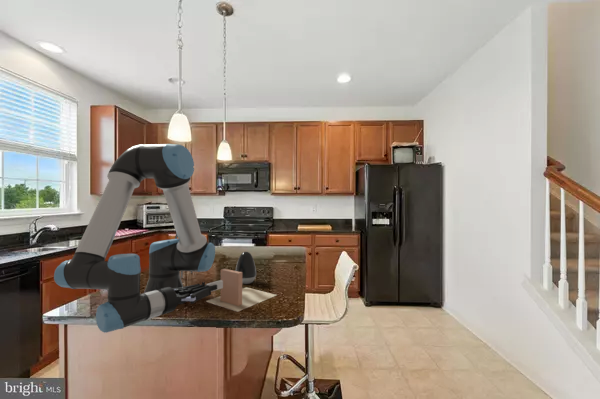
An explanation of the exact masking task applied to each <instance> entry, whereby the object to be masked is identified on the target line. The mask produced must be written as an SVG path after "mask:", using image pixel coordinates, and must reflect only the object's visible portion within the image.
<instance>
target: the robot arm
mask: <svg viewBox="0 0 600 399" xmlns="http://www.w3.org/2000/svg"><path fill="white" fill-rule="evenodd" d="M194 166H195V161H194V158H193V155H192V154H191V152H190V150H189V149H188V148H186V147H185V146H184V145H182V144H179V143H178V144H176V143H175V144H173V143H160V144H159V143H158V144H157V143H155V144H152V143H151V144H144V143H143V144H142V143H141V144H137V145H133V146H131V147H130V148H127V149H126V150H125V151H124V152H123V153H122V154H120V155H119V156H118V157H117V159H116V160H115V161H114V163H113V164H112V165H111V168H110V169H109V171H108V173H107V179H108V182H107V183H106V186H105V188H104V190H103V192H102V194H101V197H100V199H99V201H98V203H97V205H96V208H95V209H94V212H93V214H92V216H91V218H90V219H89V220H90V221H89V223H88V224H87V226H86V228H85V231H84V233H83V235H82V237H81V239H80V241H79V244H78V245H77V248H76V249H75V252H74V253H73V256H72V258H71V259H69V260H65V261H62V262H61V263H60V264H59V265H57V267H56V268H55V269H54V275H53V280H54V283H55V284H56V285H58V286H59V287H61V288H67V289H73V290H78V289H83V290H85V289H86V290H87V289H88V290H89V289H90V290H101V291H102V290H103V291H104V290H105V291H107V301H105V302H103V303H101V304H99V305H98V306H97V308H96V312H95V321H96V325H97V328H98V330H99V331H101V332H102V333H104V334H105V333H110V332H113V331H117V330H121V329H124V328H126V327H127V328H128V327H130V326H133V325H136V324H139V323H142V322H144V321H151V320H152V319H154V318H157V317H159V316H162V315H166V314H168V313H169V314H170V313H172V312H174V311H175V310H176V308H177V306H178V305H184V304H185V303H187V302H189V303H190V305H191V304H195V303H196V302H198V301H200V300H202V299H205V298H206V297H208V296H209V297H210V295H212V292H215V291H218V290H220V289H222V288H223V281H222V280H221V279H220V280H216V281H211V282H209V283H206V282H205V281H204V282H203V281H202V282H201V283H195V284H190V285H186V286H185V285H184V284H183V281H182V279H181V271H183V272H191V271H192V273H193V272H196V273H202V272H208V271H209V270H210V269H211V268H212V266H213V264H214V261H215V257H216V246H215V244H214V243H213V242H208V239H207V236H206V235H204V234H203V233H202V232H201V228H200V224H199V221H198V217H197V214H196V209H195V205H194V202H193V198H192V195H191V191H190V188H189V183H190V182H191V180H192V179H191V178H192V176H193V175H194V172H195V167H194ZM145 179H153V180H154V183H155V185H156V188H157V189H160V190H162V191H163V195H164V198H165V202H166V204H167V208H168V211H169V214H170V218H171V220H172V223H173V227H174V229H175V232H176V233H177V236H178V237H177V239H175V238H172V239H165V240H158V241H154V242H152V243H151V244H150V245H149V252H148V254H149V255H148V256H149V258H148V263H149V265H148V280H147V283H146V286H145V289H144V292H143V293H141V272H142V267H141V258H140V255H138V254H137V253H118V254H113V255H111V256H109V257H108V259H107V256H108V254H109V252H110V248H111V246H112V244H113V241H114V238H115V236H116V234H117V231H118V229H119V227H120V224H121V222H122V220H123V217H124V215H125V212H126V209H127V207H128V205H129V202H130V200H131V198H132V195H133V193H134V191H135V189H137V188H139V187H140V185H141V183H142V181H144V180H145ZM176 233H175V234H176ZM106 259H107V261H106Z"/></svg>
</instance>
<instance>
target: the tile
mask: <svg viewBox="0 0 600 399" xmlns="http://www.w3.org/2000/svg"><path fill="white" fill-rule="evenodd" d="M220 280H222V281H223V288H222V289H219V291H220V295H219V296H220V300H221V301H224V302H227V303H230V304H234V305H237V306H239V305H242V289H243V284H242V272H238V271H236V270H232V269H228V268H222V269H220Z"/></svg>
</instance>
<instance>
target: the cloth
mask: <svg viewBox="0 0 600 399" xmlns="http://www.w3.org/2000/svg"><path fill="white" fill-rule="evenodd" d="M276 296H277V294H275V293H270V292H268V291H267V292H266V291H262V290H258V289H254V288H250V287H242V305H239V306H237V305H234V304H230V303H227V302H224V301H221V300H220V295H219V296H217V297H214V298H210V299H208V300H205V302H206V303H208V304H213V305H215V306H218V307H220V308H221V307H222V308H225V309H226V310H231V311H234V312H237V313H238V312H240V311H242V310H245V309H249V308H250V307H252V306H255V305H258V304H259V303H261V302H264V301H266V300H269V299H271V298H275V297H276Z"/></svg>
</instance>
